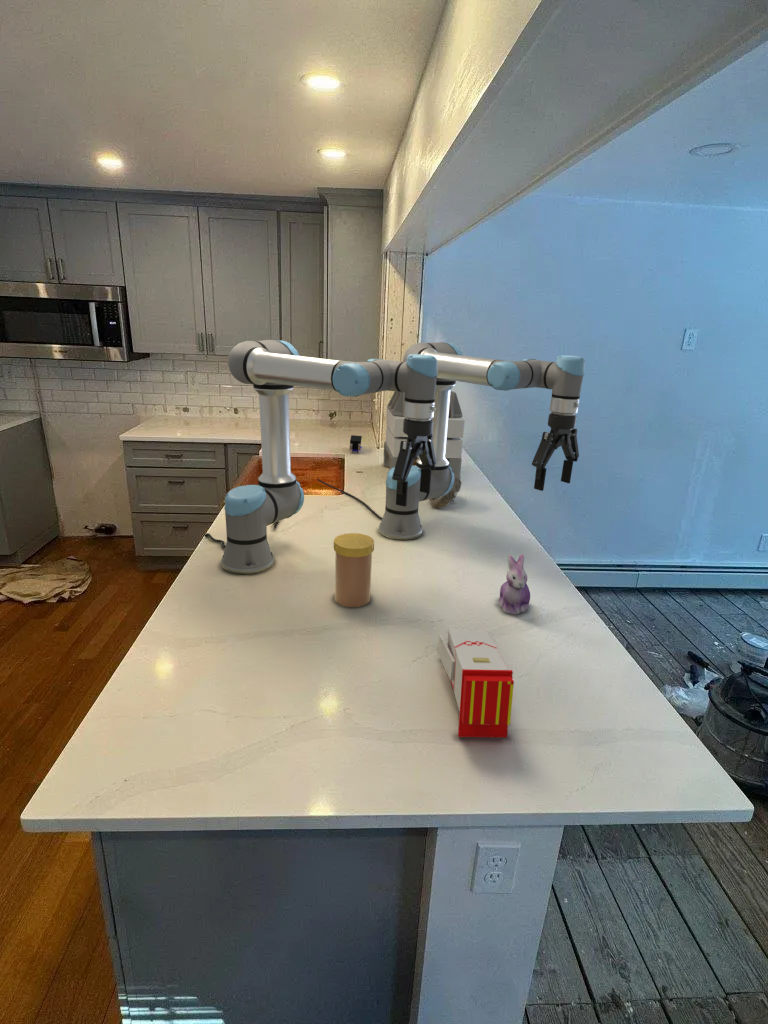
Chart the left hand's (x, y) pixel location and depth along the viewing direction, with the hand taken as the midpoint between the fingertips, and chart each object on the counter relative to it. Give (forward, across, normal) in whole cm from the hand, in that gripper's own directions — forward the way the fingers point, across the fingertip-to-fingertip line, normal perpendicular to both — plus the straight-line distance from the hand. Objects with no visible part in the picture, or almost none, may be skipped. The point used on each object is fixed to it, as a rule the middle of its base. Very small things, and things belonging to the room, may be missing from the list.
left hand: (413, 498), depth 150 cm
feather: (+28, +25, +66) cm, 76 cm away
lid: (+11, -12, +11) cm, 19 cm away
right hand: (0, +35, -28) cm, 45 cm away
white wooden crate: (+28, +112, +52) cm, 127 cm away
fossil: (+28, +80, +25) cm, 88 cm away
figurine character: (+28, +129, +100) cm, 166 cm away
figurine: (+28, +9, -28) cm, 40 cm away
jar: (+28, -12, +11) cm, 32 cm away
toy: (+28, -32, -32) cm, 53 cm away
